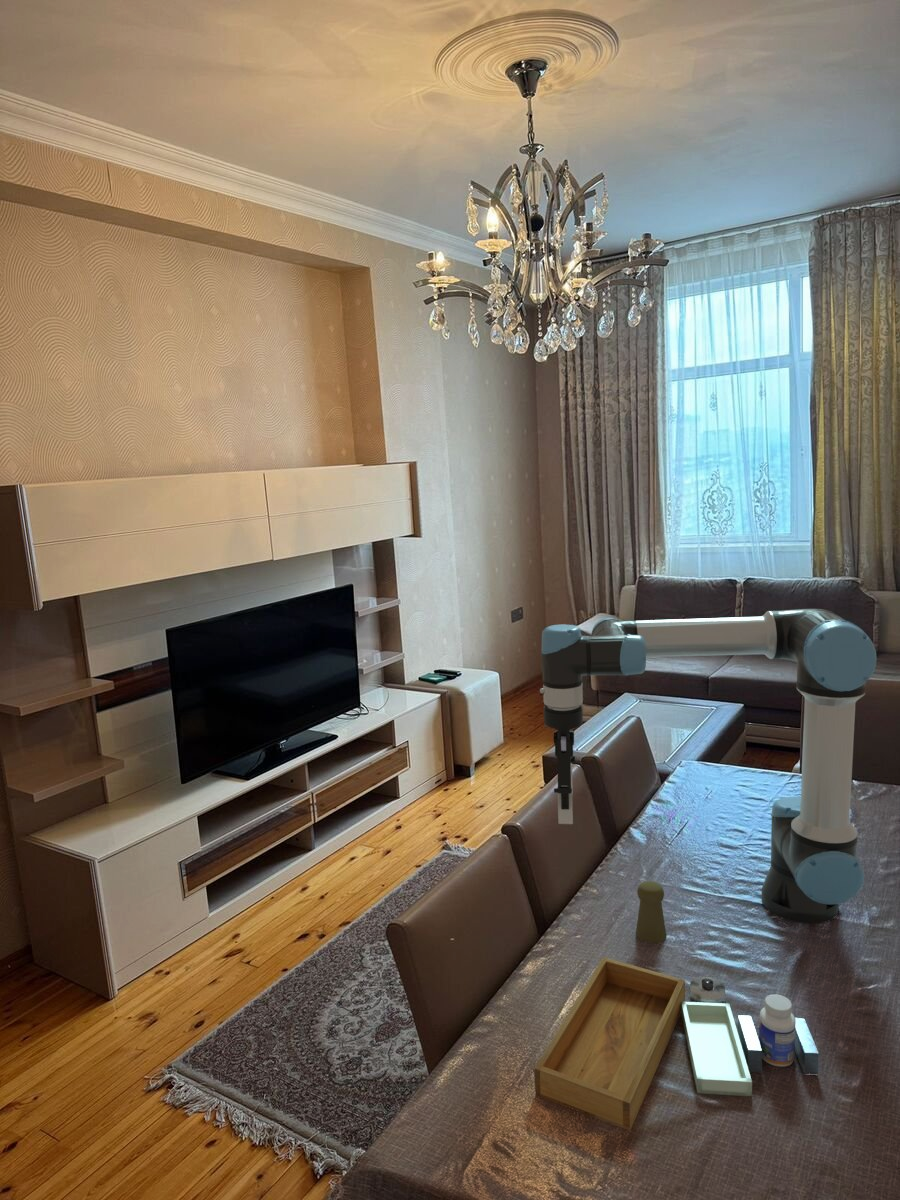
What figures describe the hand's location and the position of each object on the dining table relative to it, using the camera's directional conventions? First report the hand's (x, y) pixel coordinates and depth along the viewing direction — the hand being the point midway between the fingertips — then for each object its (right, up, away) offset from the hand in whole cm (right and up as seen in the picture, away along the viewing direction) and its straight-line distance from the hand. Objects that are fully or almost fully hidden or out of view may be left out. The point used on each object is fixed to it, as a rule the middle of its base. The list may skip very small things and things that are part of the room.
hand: (566, 808), depth 165 cm
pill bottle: (+30, -32, -31) cm, 54 cm away
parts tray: (+20, -32, -29) cm, 48 cm away
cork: (+18, -27, +4) cm, 32 cm away
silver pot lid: (+23, -30, -16) cm, 41 cm away
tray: (+4, -33, -27) cm, 43 cm away
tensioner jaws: (+30, -32, -31) cm, 53 cm away
